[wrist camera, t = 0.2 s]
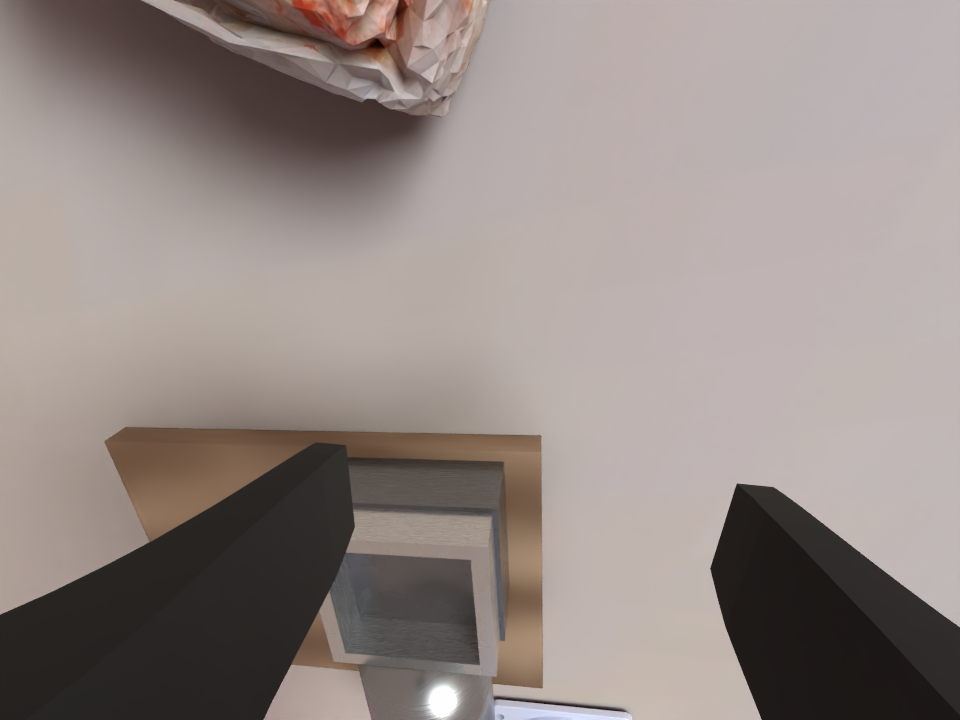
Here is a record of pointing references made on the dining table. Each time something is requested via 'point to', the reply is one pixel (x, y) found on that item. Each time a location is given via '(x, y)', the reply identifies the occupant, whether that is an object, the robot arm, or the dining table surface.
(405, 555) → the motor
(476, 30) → the food item
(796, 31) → the dining table surface
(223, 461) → the mounting board
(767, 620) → the robot arm
